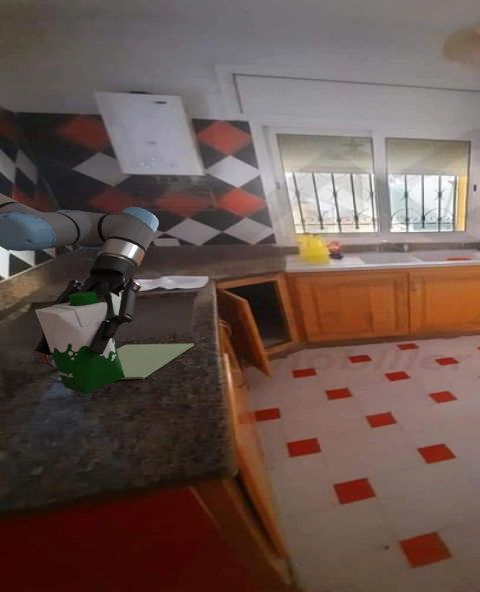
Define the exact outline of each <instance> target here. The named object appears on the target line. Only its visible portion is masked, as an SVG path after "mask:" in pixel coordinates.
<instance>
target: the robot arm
mask: <svg viewBox="0 0 480 592" xmlns="http://www.w3.org/2000/svg"><path fill="white" fill-rule="evenodd" d="M159 225H160V222H159V219H158V218H157V217H156V215H154V214H153V213H152V212H151V211H149V210H147V209H144V208H143V207H138V206H128V207H125V208H124V209H123V211H121V212H120V214H115V213H114V214H109V213H108V214H107V213H99V212H90V211H83V210H82V211H81V210H79V209H75V210H74V209H59V210H56V211H54V212H53V211H50V212H49V211H48V212H44V211H43V212H42V211H40V210H36V209H35V208H32V207H30V206H28V205H26V204H24V203H21V202H20V201H17V200H15V199H13V198H11V197H10V196H7V195H6V194H5V195H4V194H3V193H1V192H0V247H1V248H4V249H5V250H9V251H14V252H26V251H28V252H36V251H37V252H38V251H43V250H48V249H55V248H61V247H68V246H69V247H70V246H77V245H78V246H79V245H85V244H102V245H101V248H100V249H99V250H98V253H97V256H96V257H95V258H94V260H93V261H92V263H91V265H90V267H89V276H88V278H86V279H85V280H83V281H78V280H76V279H71V280H70V281H69V282H68V284H67V286H66V287H65V290H64V291H63V292H61V294H60V295H59V296H58V297H57V298H56V299H55V301H54V302H53V303H52V304H51V305H49V307H52V306H53V305H58V304H64V303H69V302H70V301H69V297H68V295H70V294H74V293H79V292H89V291H92V292H95V293H96V296H97V300H101V299H105V303H107V319H106V318H105V319H106V320H108V321H109V322H107V321H102V323H101V325H100V327H99V329H98V331H97V332H96V334H95V336H94V338H93V340H92V342H91V344H90V346H89V348H88V351H91V352H93V353H96V354H99V355H103V353H104V350H105V348H106V346H107V344H108V342H109V340H110V338H113V337H114V338H115V335H116V333H117V331H118V329H119V327H120V326H122V325H123V324H124V323H127V324H128V323H129V324H130V323H132V322H133V320H134V315H135V314H134V313H135V309H136V303H137V298H138V297H137V296H138V294H139V292H140V290H141V289H142V285H141V284H139V283H138V282H136V281H135V280H134V277H135V275H136V273H137V271H138V268H139V267H140V265H141V264H142V261H143V258H144V257H145V254H146V253H147V250H148V247H149V246H150V245H151V243H152V242H153V239H154V237H155V236H156V235H157V233H156V232H157V230H158V227H159ZM41 335H42V338H41V340H40V341H39V343H38V345H37V346H36V348H35V350H34V352H37V353H39V354H41V353H43V354H46V355H52V354H51V351H50V348H49V345H48V343H47V340H46V337H45V334H44V331H43V332H42V334H41Z"/></svg>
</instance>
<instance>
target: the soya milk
mask: <svg viewBox="0 0 480 592" xmlns="http://www.w3.org/2000/svg"><path fill="white" fill-rule="evenodd" d="M68 297H69V301H70V302H69V303H64V304H58V305H53V306H52V307H50V306H48V307H47V306H46V307H43V308H37V309H34V312H35V314H36V316H37V318H38V319H37V320H38V321H39V324H40V326H41V328H42V331H43V332H44V334H45V337H46V340H47V343H48V345H49V348H50V351H51V354H52V357H53V359H54V362H55V365H56V368H55V369H56V371H57V373H58V376H59V378H60V377H61V380H62V381H61V382H62V384H63V386H64V388H65V389H69V390H71V391H75V392H79V393H82V394H88V393H90V392H93V391H96V390H98V389H100V388H102V387H105V386H106V385H109V384H111V383H114V382H116V381H119V380H122V379H121V378H124V377H125V375H124V372H123V369H122V365H121V362H120V359H119V355H118V352H117V349H118V348H117V346H116V342H115V337H114V338H110V340H109V342H108V344H107V346H106V348H105V350H104V353H103V355H99V354H96V353H93V352H91V351H88V348H89V346H90V344H91V342H92V340H93V338H94V336H95V334H96V332H97V331H98V329H99V327H100V325H101V323H102V321H107V322H109V321H108V320H106V319H107V303H106V301H105V302H104V301H101V300H100V299H97V296H96V293H95V292H92V291H89V292H79V293H74V294H70V295H68ZM105 318H106V319H105Z"/></svg>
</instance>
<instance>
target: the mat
mask: <svg viewBox="0 0 480 592" xmlns="http://www.w3.org/2000/svg"><path fill="white" fill-rule="evenodd" d="M194 346H195V343H148V344H147V343H144V344H143V343H142V344H135V343H134V344H124V345H122V346H120V347H118V348H116V349H117V352H118V355H119V359H120V362H121V365H122V369H123V372H124V375H125V377H124V378H121V379H120V380H145V378H147V377H149V376H150V375H152V374H153V373H154V372H156V371H158V370H159V369H161V368H162V367H164V366H165V365H168V364H169V362H172V361H173V360H174V359H176V358H177V357H179V356H180V355H182V354H183V353H185V352H186V351H188V350H189V349H191V348H192V347H194ZM57 381H58V382H62V380H61V377H60V376H59V377H57Z"/></svg>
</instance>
